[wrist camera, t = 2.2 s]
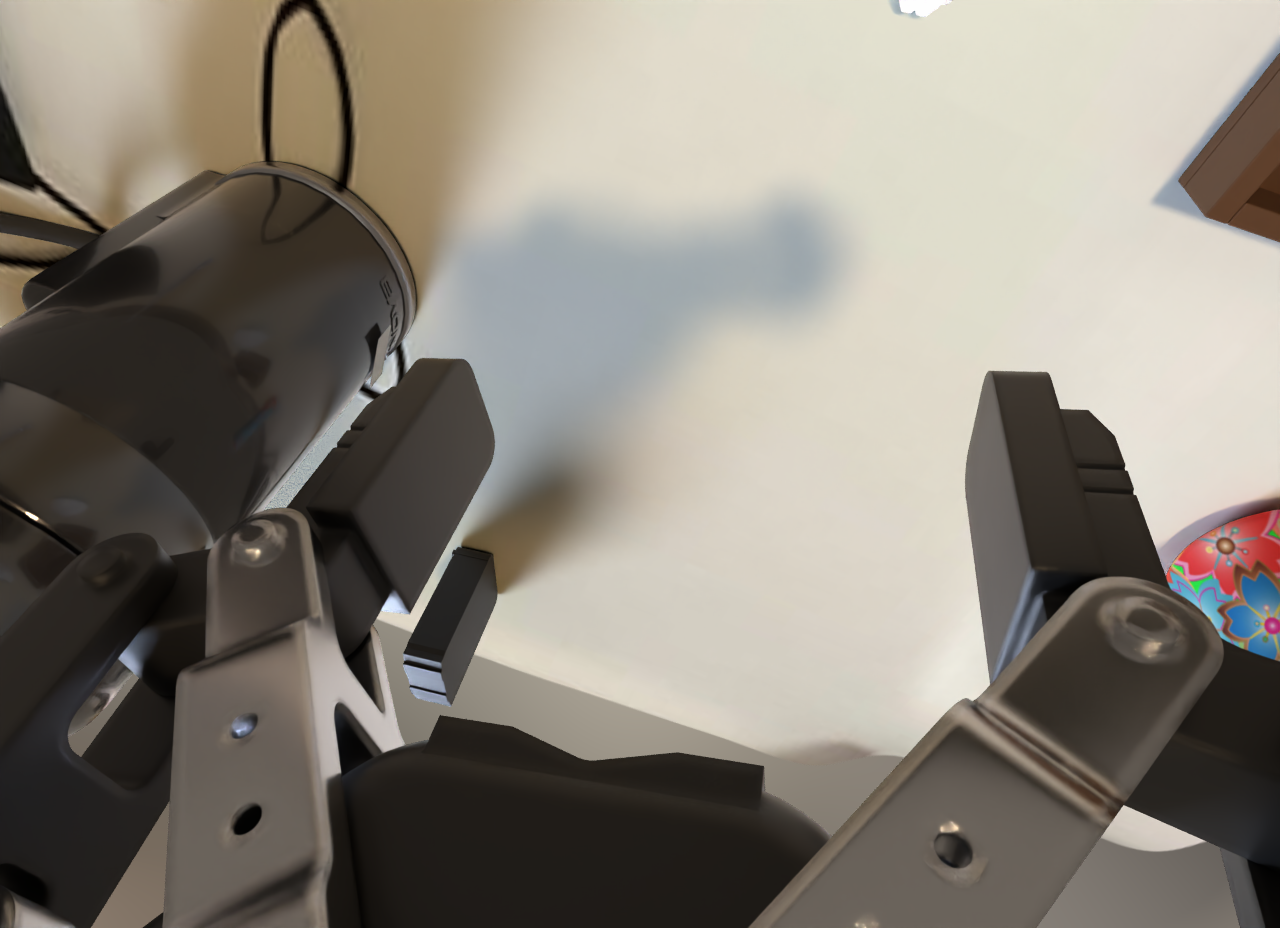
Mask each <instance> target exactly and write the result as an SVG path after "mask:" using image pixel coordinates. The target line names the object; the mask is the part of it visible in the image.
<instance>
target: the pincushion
mask: <svg viewBox="0 0 1280 928" xmlns="http://www.w3.org/2000/svg"><path fill="white" fill-rule="evenodd" d="M951 1H953V0H899V4H900V8H901V12H905V13H912V12H913V11H915V12H916V15H918V16H922V17H926V16H927V15H929V14H930V13H931V12H933V11H934V10H936V9H937V8H939V7H940V5H941V4H943V5H948V4H949V3H950V2H951Z"/></svg>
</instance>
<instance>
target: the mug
mask: <svg viewBox="0 0 1280 928" xmlns="http://www.w3.org/2000/svg"><path fill="white" fill-rule="evenodd" d="M1166 579H1167V581H1168V584H1169V586H1170V588H1171V590H1173V591H1175V592H1176V593H1178V594H1180V595H1182V596H1183V597H1185V598H1186V599H1188V600H1189V601H1191V602H1192V603H1193V604H1195V605H1196V606H1197V607H1198V608H1199V609H1200V610H1201V611H1202V612H1203V613H1205V614H1206V616H1207V617H1208V618H1209V619H1210V620H1211V622H1212V623H1213V624H1214V626H1215V628H1216V629H1217V631H1218V633H1219V635H1220V637H1221V638H1222V639H1224V640H1226V641H1228V642H1230V643H1232V644H1234V645H1236V646H1238V647H1240V648H1243V649H1245V650H1248V651H1251V652H1253V653H1256V654H1259V655H1262V656H1265V657H1268V658H1271V659H1274V660H1277V661H1280V509H1279V510H1273V511H1268V512H1263V513H1259V514H1255V515H1251V516H1247V517H1244V518H1241V519H1238V520H1235V521H1232V522H1229V523H1227V524H1225V525H1222V526H1220V527H1218V528H1216V529H1214V530H1212V531H1210V532H1208V533H1206V534H1204V535H1203V536H1201V537H1199V538H1198V539H1197V540H1195V541H1194V542H1192V543H1191V544H1190V545H1189V546H1187V547H1186V548H1185V549H1184V550H1183V551H1182V552H1181V553H1180V554H1179V555H1178V556H1177V558H1176V559H1175V560H1174V562H1173V563H1172V565H1171V567H1170V568H1169V570H1168V573H1167V575H1166Z"/></svg>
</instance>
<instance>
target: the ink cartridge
mask: <svg viewBox="0 0 1280 928" xmlns="http://www.w3.org/2000/svg"><path fill="white" fill-rule="evenodd" d="M452 556H453V557H452V559H451V560H450V562H449V564H448V566H447V568H446V570H445V572H444V574H443V576H442V578H441V580H440V582H439V584H438V586H437V587H436V589H435V591H434V593H433V595H432V597H431V599H430V601H429V603H428V605H427V607H426V609H425V611H424V613H423V614H422V616H421V618H420V620H419V622H418V624H417V626H416V628H415V630H414V632H413V634H412V636H411V638H410V639H409V642H408V644H407V647H406V649H405V651H404V653H403V656H404V663H403V666H404V670H405V673H407V677H408V680H409V683H410V690H411V692H412V694H414V695H415V697H416V698H419V699H422V700H427V701H430V702H434V703H438V704H443V705H446V706H451V705H452V703H453V701H454V698H455V695H456V694H457V691H458V689H459V687H460V684H461V682H462V680H463V678H464V675H465V673H466V670H467V668H468V666H469V664H470V661H471V659H472V657H473V655H474V652H475V650H476V648H477V645H478V643H479V641H480V638H481V636H482V634H483V632H484V629H485V627H486V625H487V622H488V620H489V618H490V615H491V613H492V611H493V608H494V606H495V604H496V600H497V586H496V577H495V569H494V562H493V555H492V554H487V553H483V552H479V551H474V550H470V549H465V548H461V547H457V549H456V550H453V552H452Z"/></svg>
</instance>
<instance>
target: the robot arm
mask: <svg viewBox="0 0 1280 928" xmlns="http://www.w3.org/2000/svg"><path fill="white" fill-rule="evenodd" d="M0 232H1V233H7V234H12V235H18V236H24V237H29V238H34V239H40V240H44V241H49V242H54V243H58V244H62V245H66V246H70V247H73V248H77V249H78V250H76V251H75V252H73V253H72V254H70V255H68V256H67V257H65V258H63V259H62V260H60V261H59V262H57V263H55V264H54V265H52V266H51V267H49V268H47V269H46V270H44V271H43V272H41V273H39V274H38V275H36V276H35V277H33V278H31V279H30V280H29V281H28V282H27V283H26V284H25V285H24V287H23V289H22V299H23V303H24V305H25V307H26V310H27V311H26V312H24V313H23V314H21V315H20V316H18V317H17V318H15V319H13V320H12V321H10V322H9V323H7V324H6V325H4V326H3V327H1V328H0V928H91V926H92V925H93V923H94V922H95V920H96V918H97V917H98V915H99V913H100V912H101V910H102V909H103V907H104V906H105V904H106V902H107V901H108V899H109V897H110V896H111V894H112V893H113V891H114V889H115V888H116V886H117V885H118V883H119V881H120V880H121V878H122V877H123V875H124V873H125V872H126V870H127V868H128V867H129V865H130V864H131V862H132V860H133V859H134V857H135V856H136V854H137V852H138V851H139V849H140V847H141V846H142V844H143V843H144V841H145V839H146V838H147V836H148V835H149V833H150V831H151V830H152V828H153V826H154V825H155V823H156V822H157V820H158V818H159V816H160V815H161V814H162V812H163V810H164V809H165V807H166V806H167V804H168V802H169V801H170V806H169V824H168V842H167V861H166V878H165V897H164V912H163V913H161V914H160V915H159V916H158V917H156V918H155V919H153V920H152V921H151V922H149V923H148V924H147V925H146V926H144V927H143V928H1036V927H1037V926H1038V925H1039V923H1040V922H1041V921H1042V919H1043V918H1044V916H1045V915H1046V914H1047V912H1048V911H1049V909H1050V908H1051V906H1052V905H1053V904H1054V902H1055V901H1056V899H1057V898H1058V897H1059V895H1060V894H1061V892H1062V891H1063V889H1064V888H1065V886H1066V885H1067V884H1068V883H1069V881H1070V880H1071V878H1072V877H1073V876H1074V874H1075V873H1076V871H1077V870H1078V868H1079V867H1080V866H1081V864H1082V863H1083V861H1084V860H1085V859H1086V857H1087V856H1088V854H1089V853H1090V852H1091V850H1092V849H1093V847H1094V846H1095V845H1096V843H1097V842H1098V840H1099V839H1100V837H1101V836H1102V835H1103V833H1104V832H1105V830H1106V829H1107V828H1108V826H1109V825H1110V823H1111V822H1112V821H1113V819H1114V818H1115V816H1116V815H1117V813H1118V812H1119V811H1120V809H1121V808H1122V806H1123V805H1125V806H1127V807H1130V808H1132V809H1134V810H1136V811H1139V812H1141V813H1143V814H1146V815H1148V816H1150V817H1152V818H1155V819H1157V820H1159V821H1161V822H1164V823H1166V824H1168V825H1171V826H1173V827H1175V828H1177V829H1180V830H1182V831H1184V832H1187V833H1189V834H1191V835H1193V836H1196V837H1198V838H1200V839H1202V840H1205V841H1207V842H1209V843H1212V844H1214V845H1216V846H1218V847H1220V851H1221V855H1222V858H1223V862H1224V867H1225V870H1226V874H1227V878H1228V882H1229V886H1230V890H1231V894H1232V898H1233V902H1234V906H1235V909H1236V913H1237V917H1238V921H1239V925H1240V928H1280V661H1277V660H1274V659H1271V658H1268V657H1265V656H1262V655H1259V654H1256V653H1253V652H1251V651H1248V650H1245V649H1243V648H1240V647H1238V646H1236V645H1234V644H1232V643H1230V642H1228V641H1226V640H1224V639H1222V638H1221V637H1220V635H1219V633H1218V631H1217V629H1216V628H1215V626H1214V624H1213V623H1212V622H1211V620H1210V619H1209V618H1208V617H1207V616H1206V614H1205V613H1203V612H1202V611H1201V610H1200V609H1199V608H1198V607H1197V606H1196V605H1195V604H1193V603H1192V602H1191V601H1189V600H1188V599H1186V598H1185V597H1183V596H1182V595H1180V594H1178V593H1176V592H1175V591H1173V590H1171V588H1170V586H1169V584H1168V581H1167V579H1166V576H1165V573H1164V570H1163V568H1162V565H1161V562H1160V559H1159V557H1158V554H1157V551H1156V548H1155V546H1154V543H1153V540H1152V537H1151V535H1150V532H1149V529H1148V526H1147V523H1146V521H1145V518H1144V515H1143V512H1142V510H1141V507H1140V504H1139V501H1138V499H1137V496H1136V495H1134V494H1133V491H1134V488H1133V485H1132V482H1131V479H1130V477H1129V474H1128V471H1125V463H1124V460H1123V457H1122V454H1121V452H1120V449H1119V446H1118V443H1117V441H1116V438H1115V436H1114V435H1113V434H1112V433H1111V432H1110V431H1109V430H1108V429H1107V428H1106V427H1105V426H1104V425H1103V424H1102V423H1101V422H1100V421H1099V420H1098V419H1097V418H1096V417H1095V416H1094V415H1093V414H1092V413H1091V412H1090V411H1089V410H1069V409H1060V407H1059V404H1058V401H1057V397H1056V394H1055V390H1054V387H1053V383H1052V380H1051V377H1050V375H1049V373H1047V372H1015V371H988V372H987V374H986V376H985V379H984V382H983V386H982V391H981V395H980V400H979V405H978V409H977V414H976V418H975V423H974V427H973V432H972V436H971V441H970V445H969V450H968V455H967V462H966V474H965V491H966V501H967V509H968V516H969V524H970V532H971V539H972V547H973V555H974V563H975V570H976V578H977V586H978V593H979V601H980V609H981V617H982V624H983V632H984V640H985V647H986V655H987V663H988V671H989V678H990V686H989V687H988V688H987V689H986V690H985V691H984V692H983V693H982V694H981V695H980V696H979V697H978V698H977V699H976V700H974V701H971V700H969V699H967V698H965V699H962V700H961V701H959V702H958V703H956V704H955V705H954V706H953V707H952V708H950V709H949V710H948V711H947V712H946V713H945V714H944V715H943V716H942V717H941V719H940V720H939V721H938V722H937V723H936V724H935V725H934V726H933V727H932V728H931V729H930V731H929V732H928V733H927V734H926V735H925V736H924V737H923V738H922V739H921V740H920V741H919V742H918V744H917V745H916V746H915V747H914V748H913V749H912V750H911V751H910V752H909V753H908V754H907V756H906V757H905V758H904V759H903V760H902V761H901V762H900V763H899V764H898V765H897V766H896V768H895V769H894V770H893V771H892V772H891V773H890V774H889V775H888V776H887V777H886V778H885V779H884V781H883V782H882V783H881V784H880V785H879V786H878V787H877V788H876V789H875V790H874V791H873V793H872V794H871V795H870V796H869V797H868V798H867V799H866V800H865V801H864V802H863V803H862V804H861V806H860V807H859V808H858V809H857V810H856V811H855V812H854V813H853V814H852V815H851V816H850V818H849V819H848V820H847V821H846V822H845V823H844V824H843V825H842V826H841V827H840V828H839V829H838V831H837V832H836V833H835V834H834V835H833V836H831V835H830V834H829V833H828V832H827V831H826V830H825V829H824V828H823V827H821V826H820V825H819V824H818V823H816V822H815V821H814V820H813V819H811V818H810V817H809V816H808V815H806V814H805V813H804V812H802V811H800V810H799V809H797V808H795V807H794V806H792V805H791V804H789V803H787V802H786V801H784V800H782V799H780V798H778V797H776V796H773V795H772V794H769V793H767V792H765V777H764V766H760V765H754V764H747V763H740V762H735V761H728V760H722V759H715V758H709V757H702V756H696V755H689V754H684V753H667V754H657V755H647V756H638V757H626V758H616V759H606V760H597V761H589V760H583V759H580V758H577V757H576V756H573V755H571V754H569V753H567V752H565V751H563V750H560V749H558V748H556V747H554V746H552V745H550V744H548V743H546V742H544V741H542V740H540V739H538V738H535V737H533V736H531V735H529V734H527V733H525V732H523V731H520V730H519V729H516V728H514V727H511V726H504V725H498V724H492V723H486V722H479V721H473V720H467V719H460V718H454V717H448V716H441V715H440V716H439V718H438V721H437V723H436V725H435V727H434V730H433V732H432V734H431V736H430V738H429V740H424V741H419V742H415V743H411V744H407V745H405V744H404V741H403V739H402V737H401V734H400V731H399V728H398V724H397V720H396V715H395V710H394V705H393V701H392V696H391V691H390V686H389V681H388V677H387V672H386V667H385V662H384V657H383V653H382V648H381V643H380V638H379V635H378V632H377V630H376V629H375V627H374V625H373V623H374V621H375V620H376V618H377V616H378V614H379V613H380V611H386V612H395V613H403V614H410V613H411V611H412V609H413V607H414V605H415V603H416V602H417V600H418V598H419V596H420V594H421V592H422V590H423V589H424V587H425V585H426V583H427V581H428V579H429V578H430V576H431V574H432V572H433V570H434V568H435V566H436V565H437V563H438V561H439V559H440V557H441V555H442V554H443V552H444V550H445V548H446V546H447V544H448V542H449V541H450V539H451V537H452V535H453V533H454V531H455V530H456V528H457V526H458V524H459V522H460V520H461V518H462V517H463V515H464V513H465V511H466V509H467V507H468V506H469V504H470V502H471V500H472V498H473V496H474V494H475V493H476V491H477V489H478V487H479V485H480V483H481V482H482V480H483V478H484V476H485V474H486V472H487V470H488V469H489V467H490V465H491V462H492V459H493V455H494V447H495V439H494V432H493V428H492V425H491V422H490V419H489V416H488V413H487V411H486V408H485V405H484V402H483V399H482V396H481V393H480V390H479V387H478V385H477V382H476V379H475V376H474V373H473V370H472V368H471V366H470V364H469V363H468V362H467V361H466V360H464V359H438V358H421V359H418V360H417V361H416V362H415V363H414V364H413V365H412V367H411V368H410V369H409V371H408V372H407V373H406V375H405V376H404V377H403V378H402V380H401V381H400V382H399V384H398V385H397V386H396V387H391V388H390V389H388V390H387V391H386V392H384V393H383V394H382V395H380V396H379V397H377V398H376V399H375V400H373V401H372V402H370V403H369V404H368V405H367V406H366V407H365V408H364V409H363V411H362V412H361V413H360V415H359V416H358V417H357V418H356V420H355V421H354V422H353V423H352V425H351V426H350V427H351V430H347V431H346V432H345V434H344V435H343V436H342V438H341V439H340V440H339V441H338V443H337V448H333V449H332V450H331V452H330V453H329V454H328V455H327V457H326V458H325V459H324V460H323V462H322V463H321V464H320V466H319V467H318V468H317V469H316V471H315V472H314V473H313V474H312V476H311V477H310V478H309V480H308V481H307V482H306V483H305V485H304V486H303V487H302V488H301V490H300V491H299V492H298V494H297V495H296V496H295V497H294V499H293V500H292V501H291V503H290V504H289V505H288V506H287V508H273V509H268V510H264V509H265V508H266V507H267V505H268V504H269V503H270V502H271V500H272V499H273V498H274V497H275V495H276V494H277V493H278V492H279V490H280V489H281V488H282V487H283V485H284V484H285V483H286V482H287V480H288V479H289V478H290V477H291V475H292V474H293V473H294V472H295V470H296V469H297V468H298V467H299V465H300V464H301V463H302V462H303V460H304V459H305V458H306V457H307V455H308V454H309V453H310V452H311V450H312V449H313V448H314V447H315V445H316V444H317V443H318V442H319V440H320V439H321V438H322V437H323V435H324V434H325V433H326V432H327V430H328V429H329V428H330V427H331V425H332V424H333V423H334V422H335V420H336V419H337V418H338V417H339V415H340V414H341V413H342V412H343V410H344V409H345V408H346V407H347V405H348V404H349V403H350V402H351V400H352V399H353V398H354V397H355V395H356V394H357V393H358V392H359V390H360V389H361V388H362V387H363V385H364V384H365V383H366V382H367V380H368V379H369V378H370V377H371V375H372V379H371V384H370V388H371V387H372V385H373V384H374V383H375V382H376V380H377V379H378V378H379V376H380V375H381V374H382V370H383V364H384V361H385V360H386V358H387V357H388V356H389V355H390V354H391V353H392V352H393V351H394V350H395V349H396V348H397V347H398V345H399V344H400V343H401V342H402V340H403V339H404V338H405V336H406V335H407V334H408V332H409V330H410V328H411V326H412V323H413V320H414V315H415V308H416V294H415V287H414V282H413V278H412V275H411V272H410V269H409V266H408V264H407V261H406V259H405V257H404V255H403V253H402V251H401V249H400V247H399V245H398V244H397V242H396V241H395V239H394V238H393V236H392V235H391V233H390V232H389V231H388V229H387V228H386V227H385V225H384V224H383V223H382V222H381V221H380V219H379V218H378V217H377V216H376V215H375V214H374V213H373V212H372V211H371V210H370V209H369V208H368V207H367V206H366V205H365V204H364V203H363V202H362V201H360V200H359V199H358V198H357V197H356V196H354V195H353V194H352V193H350V192H349V191H348V190H346V189H345V188H343V187H342V186H340V185H339V184H337V183H336V182H334V181H332V180H330V179H329V178H327V177H325V176H323V175H321V174H319V173H316V172H314V171H312V170H309V169H306V168H304V167H300V166H297V165H293V164H288V163H283V162H272V161H271V162H257V163H251V164H248V165H244V166H242V167H240V168H238V169H236V170H234V171H233V172H231V173H230V174H228V175H220V174H217V173H214V172H211V171H206V170H205V171H203V172H202V173H200V174H198V175H197V176H195V177H194V178H192V179H190V180H189V181H187V182H186V183H184V184H182V185H181V186H179V187H178V188H176V189H174V190H173V191H171V192H170V193H168V194H166V195H165V196H163V197H161V198H160V199H158V200H157V201H155V202H153V203H152V204H150V205H149V206H147V207H145V208H144V209H142V210H141V211H139V212H137V213H136V214H134V215H133V216H131V217H129V218H128V219H126V220H125V221H123V222H121V223H120V224H118V225H116V226H115V227H113V228H112V229H110V230H108V231H107V232H105V233H104V234H102V235H100V236H99V235H96V234H93V233H90V232H86V231H83V230H79V229H76V228H72V227H68V226H64V225H60V224H56V223H51V222H46V221H42V220H36V219H31V218H26V217H20V216H15V215H9V214H3V213H0ZM263 510H264V511H263ZM133 673H134V674H135V675H136V676H138V677H139V679H138V681H137V682H136V683H135V685H134V686H133V688H132V689H131V690H130V692H129V693H128V694H127V696H126V697H125V698H124V700H123V701H122V702H121V704H120V705H119V707H118V708H117V709H116V711H115V712H114V713H113V715H112V716H111V717H110V719H109V720H108V721H107V723H106V724H105V725H104V727H103V728H102V729H101V731H100V732H99V734H98V735H97V736H96V738H95V739H94V740H93V742H92V743H91V745H90V746H89V747H88V748H87V750H86V751H85V753H84V754H83V755H82V757H80V756H78V755H77V754H76V753H74V752H73V751H72V749H71V748H70V745H69V742H68V736H70V735H72V734H74V733H76V732H78V731H79V730H81V729H83V728H84V727H85V726H87V725H88V724H89V723H90V722H92V720H93V719H95V718H96V716H98V715H99V714H100V713H101V711H103V709H104V708H105V707H106V706H107V705H108V704H109V703H110V701H111V700H112V699H113V698H114V697H115V695H116V694H117V693H118V692H119V691H120V689H121V688H122V687H123V686H124V684H125V683H126V682H127V681H128V679H129V678H130V677H131V675H132V674H133Z"/></svg>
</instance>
